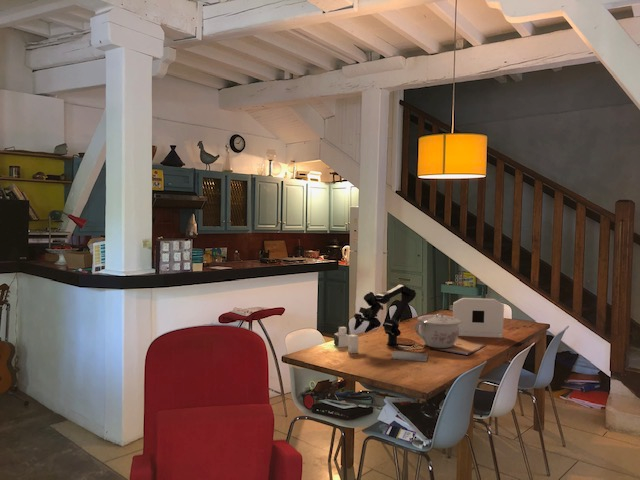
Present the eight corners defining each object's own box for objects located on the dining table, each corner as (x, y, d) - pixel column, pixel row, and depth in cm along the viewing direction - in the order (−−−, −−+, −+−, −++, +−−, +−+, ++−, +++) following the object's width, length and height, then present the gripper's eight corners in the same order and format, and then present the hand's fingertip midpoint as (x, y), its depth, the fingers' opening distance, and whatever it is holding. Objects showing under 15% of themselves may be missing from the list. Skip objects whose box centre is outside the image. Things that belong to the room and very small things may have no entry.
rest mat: (393, 351, 314) (393, 350, 314) (427, 354, 309) (427, 353, 309) (390, 359, 299) (390, 358, 299) (426, 362, 294) (426, 361, 294)
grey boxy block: (494, 330, 380) (495, 293, 379) (502, 338, 356) (504, 299, 355) (447, 328, 383) (448, 292, 382) (452, 336, 359) (453, 297, 358)
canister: (349, 350, 315) (349, 334, 315) (359, 351, 314) (359, 335, 313) (347, 353, 309) (347, 336, 309) (357, 354, 308) (357, 337, 307)
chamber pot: (461, 342, 341) (462, 310, 340) (460, 353, 314) (462, 319, 313) (417, 338, 348) (418, 307, 347) (413, 349, 322) (414, 315, 321)
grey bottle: (333, 344, 329) (334, 325, 328) (344, 343, 331) (344, 325, 331) (338, 347, 322) (338, 328, 321) (348, 346, 325) (349, 327, 324)
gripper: (356, 300, 324) (342, 319, 317) (377, 304, 309) (363, 325, 303) (365, 311, 329) (351, 331, 323) (386, 316, 315) (373, 337, 308)
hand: (359, 331), depth 314 cm, fingers open, 9 cm apart
